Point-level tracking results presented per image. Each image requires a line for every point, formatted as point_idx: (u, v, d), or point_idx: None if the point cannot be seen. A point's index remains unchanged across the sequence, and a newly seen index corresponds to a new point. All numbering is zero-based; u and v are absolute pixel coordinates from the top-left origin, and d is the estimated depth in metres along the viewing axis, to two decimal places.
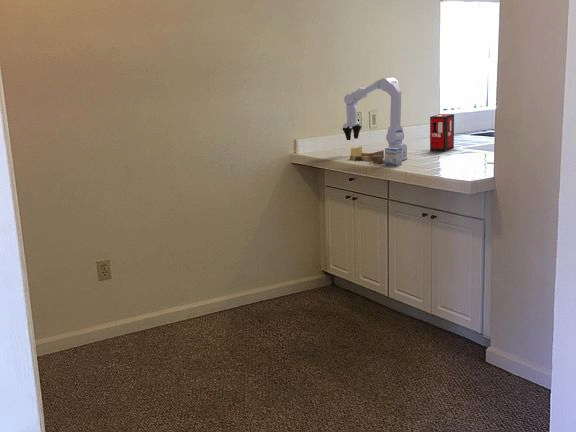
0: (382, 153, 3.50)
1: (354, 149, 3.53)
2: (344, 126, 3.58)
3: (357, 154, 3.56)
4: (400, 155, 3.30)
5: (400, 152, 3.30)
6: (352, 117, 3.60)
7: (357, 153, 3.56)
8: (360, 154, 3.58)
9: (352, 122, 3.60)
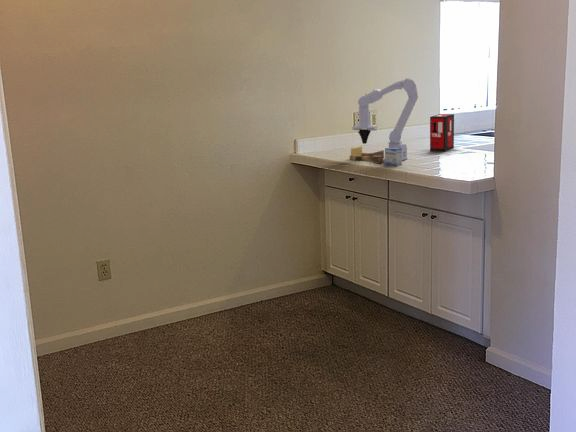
0: (382, 153, 3.50)
1: (354, 149, 3.53)
2: None
3: (357, 154, 3.56)
4: (400, 155, 3.30)
5: (400, 152, 3.30)
6: (359, 120, 3.48)
7: (357, 153, 3.56)
8: (360, 154, 3.58)
9: (359, 125, 3.49)
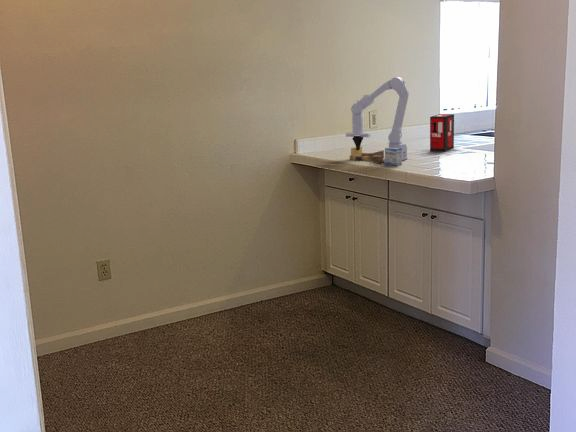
0: (382, 153, 3.50)
1: (354, 149, 3.53)
2: None
3: (357, 154, 3.56)
4: (400, 155, 3.30)
5: (400, 152, 3.30)
6: (352, 127, 3.52)
7: (357, 153, 3.56)
8: (360, 154, 3.58)
9: (352, 132, 3.53)
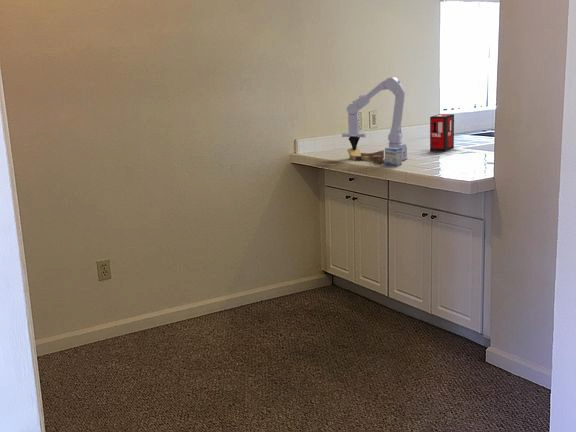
0: (382, 153, 3.50)
1: (350, 149, 3.54)
2: None
3: (356, 154, 3.56)
4: (400, 155, 3.30)
5: (400, 152, 3.30)
6: (348, 127, 3.54)
7: (355, 153, 3.56)
8: (359, 154, 3.59)
9: None
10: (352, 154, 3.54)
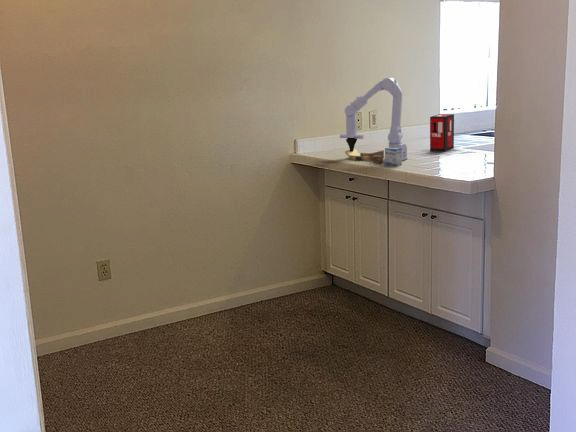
0: (382, 153, 3.50)
1: (348, 151, 3.56)
2: None
3: (354, 154, 3.57)
4: (400, 155, 3.30)
5: (400, 152, 3.30)
6: (346, 128, 3.55)
7: (354, 154, 3.57)
8: (358, 154, 3.59)
9: (346, 133, 3.56)
10: (351, 155, 3.55)
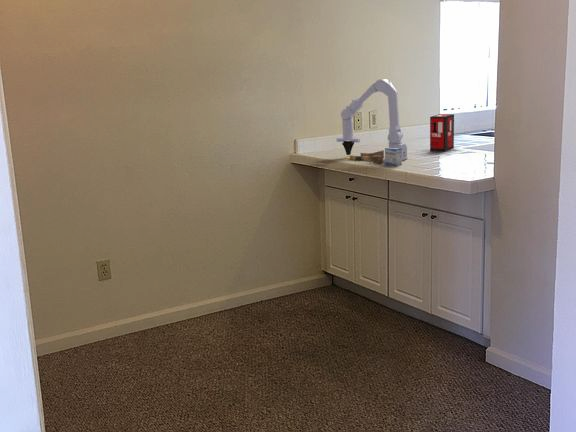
0: (382, 153, 3.50)
1: (345, 157, 3.58)
2: None
3: None
4: (400, 155, 3.30)
5: (400, 152, 3.30)
6: None
7: None
8: None
9: None
10: (349, 157, 3.56)
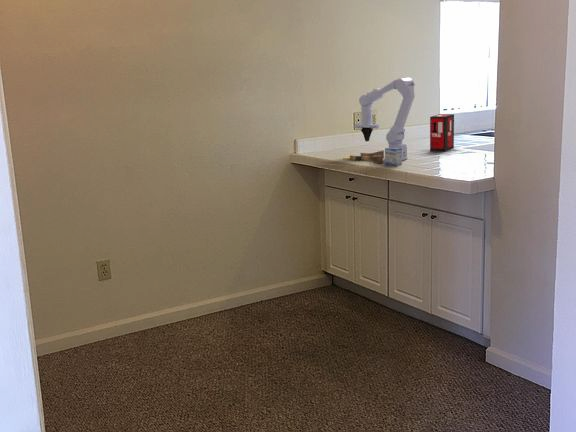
0: (382, 153, 3.50)
1: (345, 157, 3.58)
2: None
3: None
4: (400, 155, 3.30)
5: (400, 152, 3.30)
6: None
7: None
8: None
9: None
10: (349, 157, 3.56)
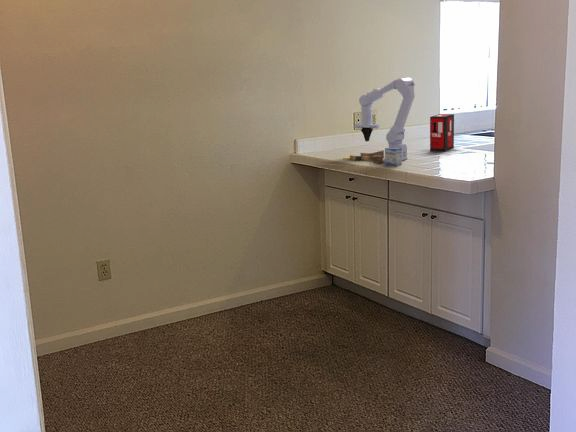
0: (382, 153, 3.50)
1: (345, 157, 3.58)
2: None
3: None
4: (400, 155, 3.30)
5: (400, 152, 3.30)
6: None
7: None
8: None
9: None
10: (349, 157, 3.56)
